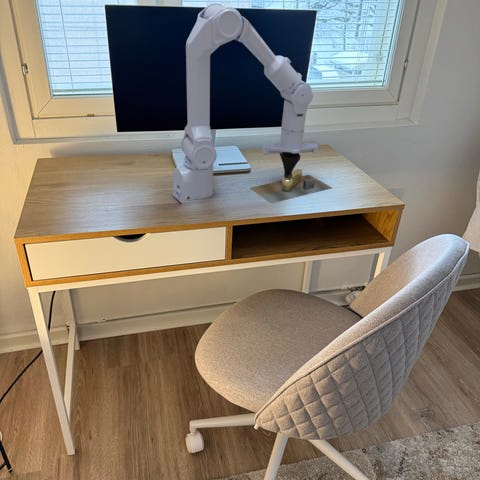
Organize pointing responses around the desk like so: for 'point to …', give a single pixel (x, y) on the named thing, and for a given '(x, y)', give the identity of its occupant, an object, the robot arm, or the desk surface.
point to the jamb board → (276, 194)
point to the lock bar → (291, 180)
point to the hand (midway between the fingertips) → (287, 178)
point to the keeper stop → (309, 183)
